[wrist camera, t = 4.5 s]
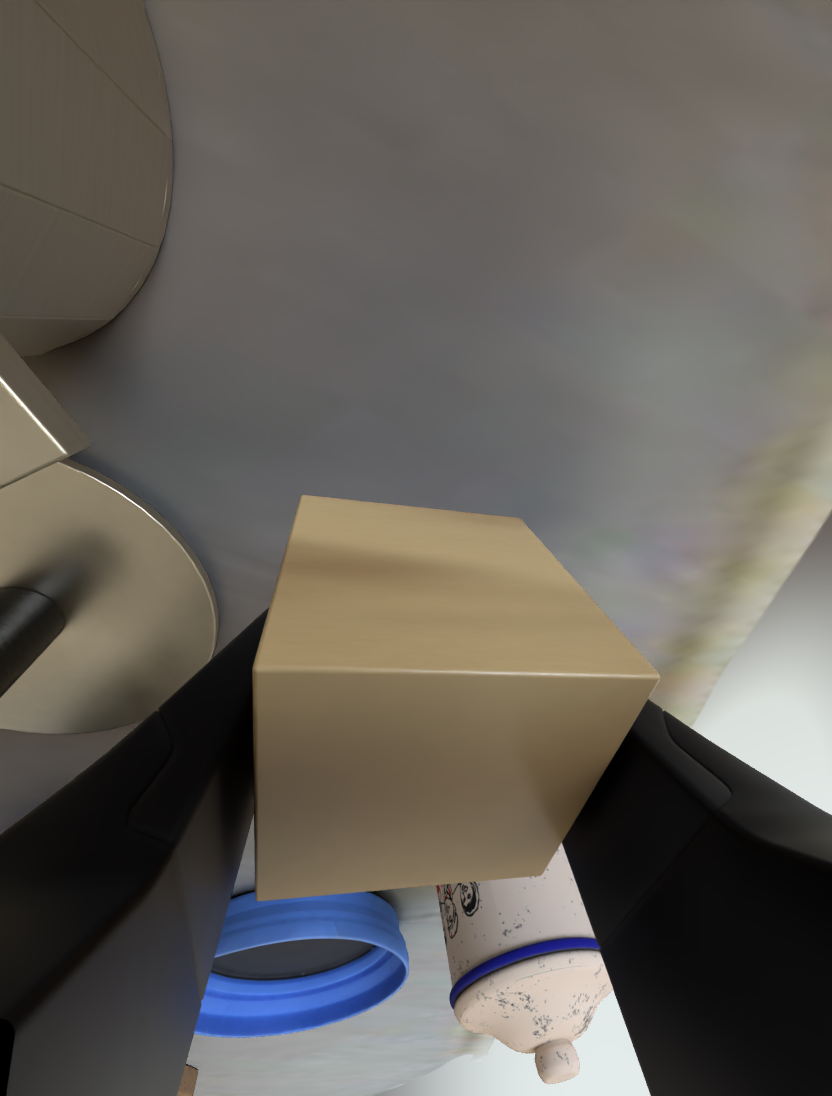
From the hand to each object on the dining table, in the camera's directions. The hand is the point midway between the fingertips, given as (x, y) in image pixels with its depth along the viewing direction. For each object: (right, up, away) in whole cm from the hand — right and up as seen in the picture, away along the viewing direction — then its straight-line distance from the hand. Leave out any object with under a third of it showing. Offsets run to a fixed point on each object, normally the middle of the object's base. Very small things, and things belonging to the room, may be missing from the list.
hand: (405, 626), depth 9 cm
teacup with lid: (+5, -18, +20) cm, 28 cm away
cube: (0, +1, +1) cm, 1 cm away
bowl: (-10, -29, +24) cm, 39 cm away
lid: (-15, -1, +7) cm, 16 cm away
